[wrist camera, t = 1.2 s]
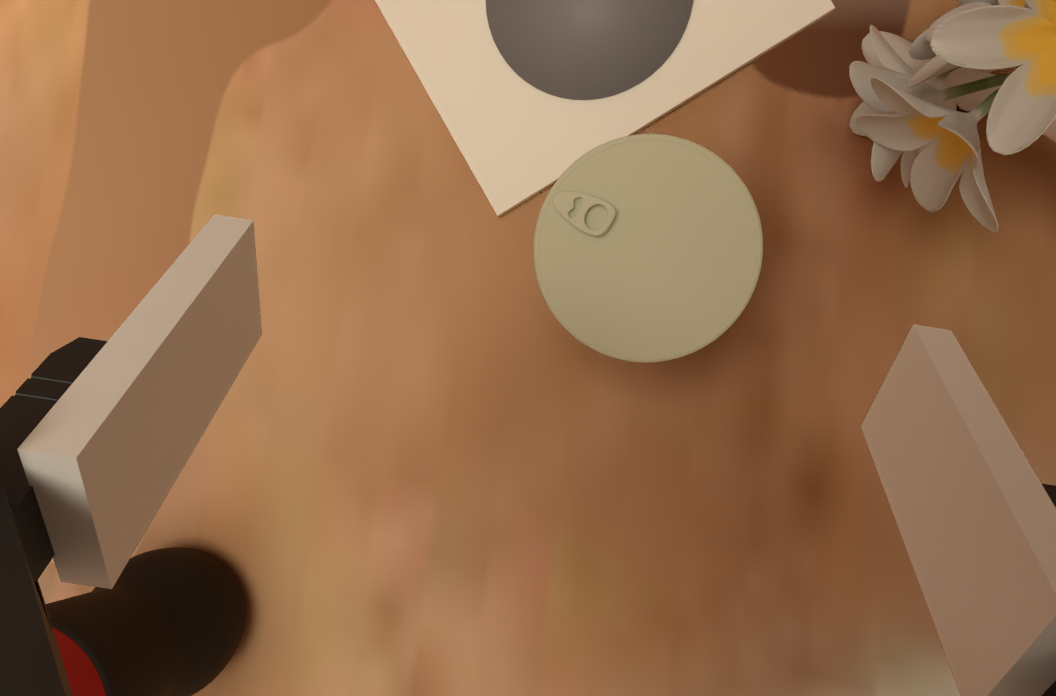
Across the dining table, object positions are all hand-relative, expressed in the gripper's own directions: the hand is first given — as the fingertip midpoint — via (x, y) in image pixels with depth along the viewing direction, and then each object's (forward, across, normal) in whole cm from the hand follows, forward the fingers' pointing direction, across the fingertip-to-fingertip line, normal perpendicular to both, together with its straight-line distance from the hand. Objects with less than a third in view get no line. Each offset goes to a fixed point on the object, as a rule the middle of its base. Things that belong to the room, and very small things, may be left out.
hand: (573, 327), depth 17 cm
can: (+25, +6, -12) cm, 28 cm away
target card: (+33, 0, -1) cm, 33 cm away
